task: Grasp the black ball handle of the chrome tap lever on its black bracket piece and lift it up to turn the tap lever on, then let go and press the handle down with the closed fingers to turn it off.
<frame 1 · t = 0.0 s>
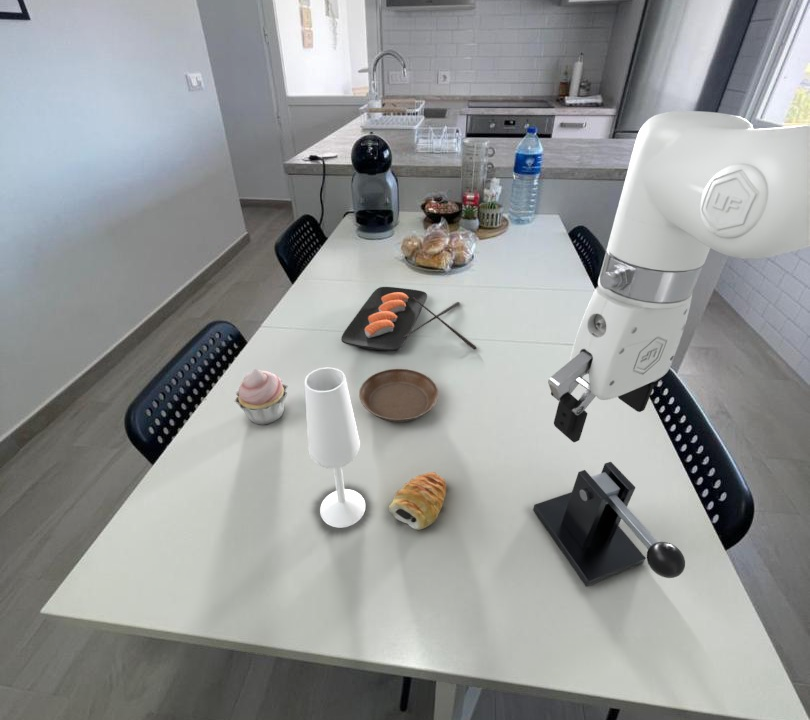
hand: (599, 418, 49), 22 cm above the table, tool pointing down, fingers open, 9 cm apart
tap lever: (633, 523, 52), point 10 cm above the table, hinge at 0.0°
cupcake: (266, 413, 83), on the table
saucer: (399, 403, 85), on the table
sushi plate: (418, 326, 108), on the table
black bracket piece: (584, 535, 62), on the table
pastry: (418, 506, 66), on the table
champagne flute: (343, 508, 66), on the table
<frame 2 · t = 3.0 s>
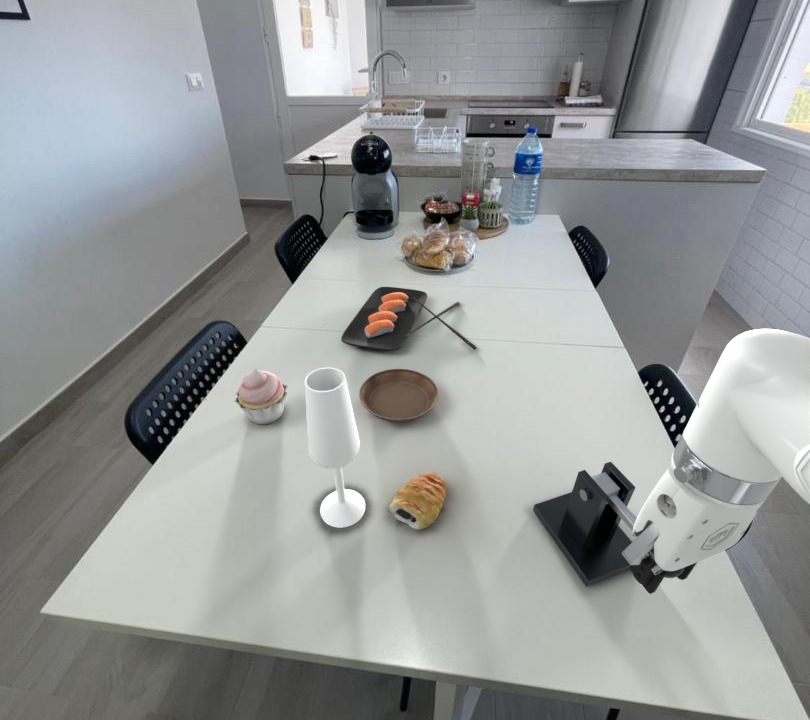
hand: (657, 573, 50), 7 cm above the table, tool pointing down, fingers closed on tap lever, 3 cm apart
tap lever: (633, 523, 52), point 10 cm above the table, hinge at 0.0°, touching gripper
everything else where it was.
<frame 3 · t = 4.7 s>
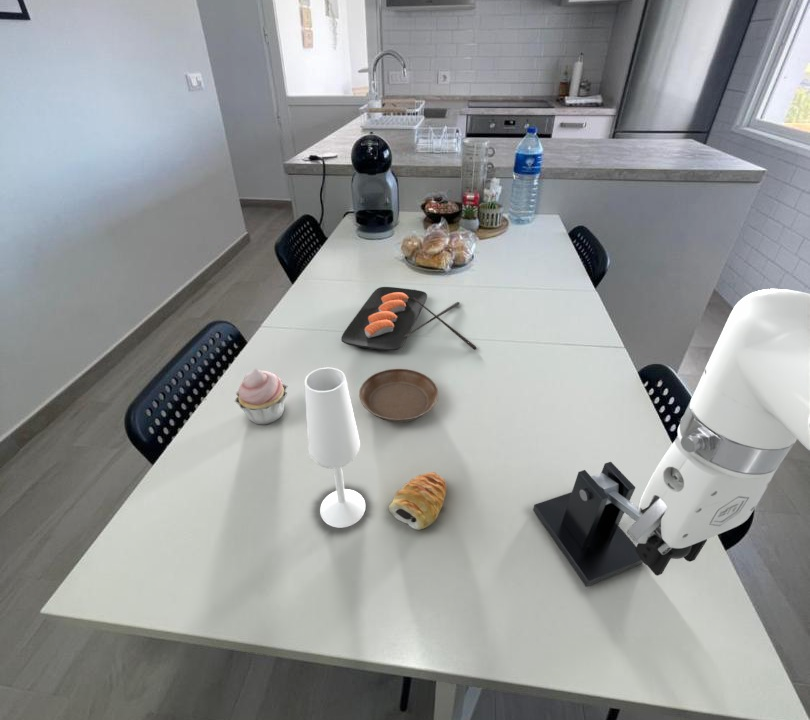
hand: (664, 555, 48), 10 cm above the table, tool pointing down, fingers closed on tap lever, 3 cm apart
tap lever: (635, 513, 51), point 12 cm above the table, hinge at 17.2°, touching gripper
everything else where it was.
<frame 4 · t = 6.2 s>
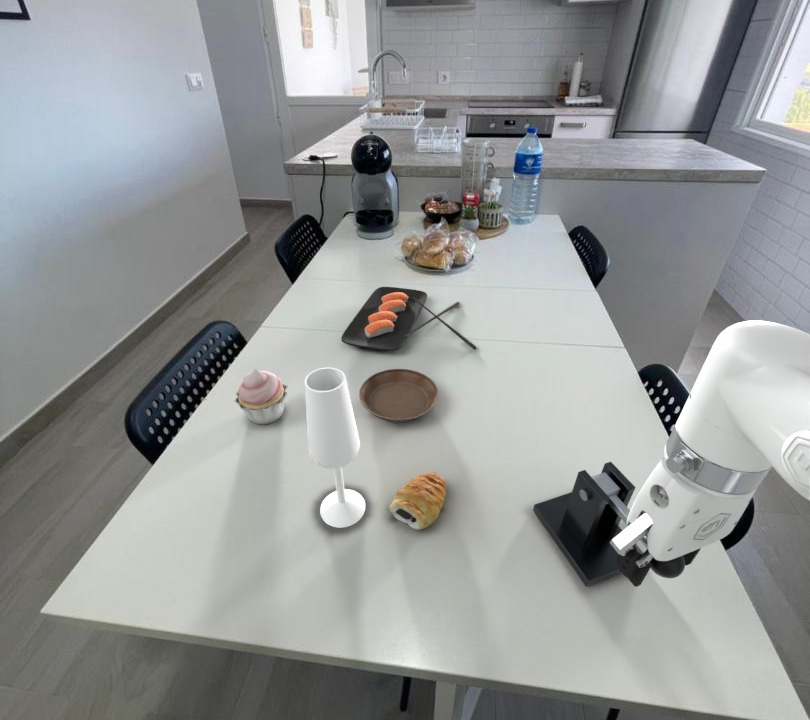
hand: (652, 562, 50), 8 cm above the table, tool pointing down, fingers open, 6 cm apart
tap lever: (633, 523, 52), point 10 cm above the table, hinge at -0.2°
everything else where it was.
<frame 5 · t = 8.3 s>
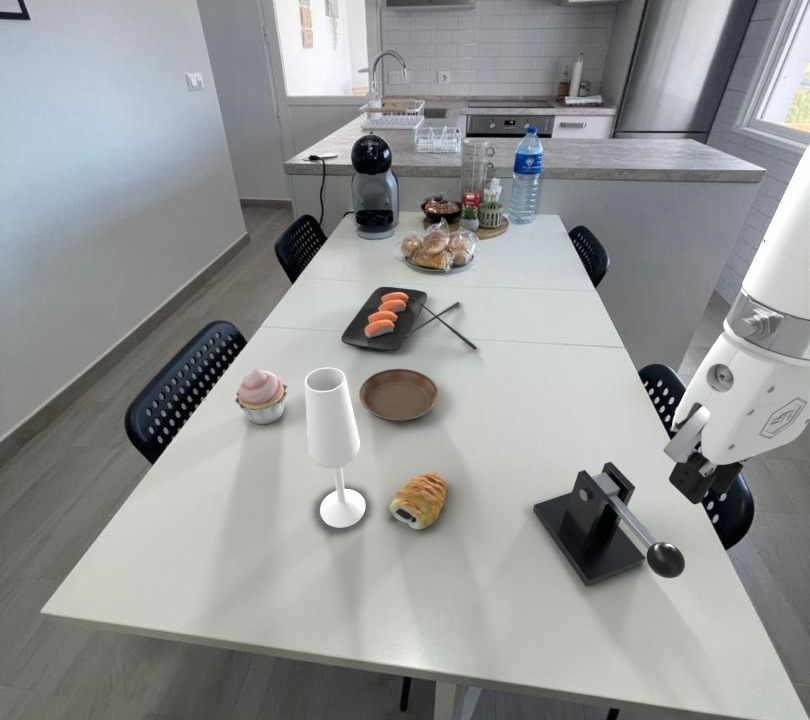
hand: (696, 486, 43), 21 cm above the table, tool pointing down, fingers closed
nothing on the table moved.
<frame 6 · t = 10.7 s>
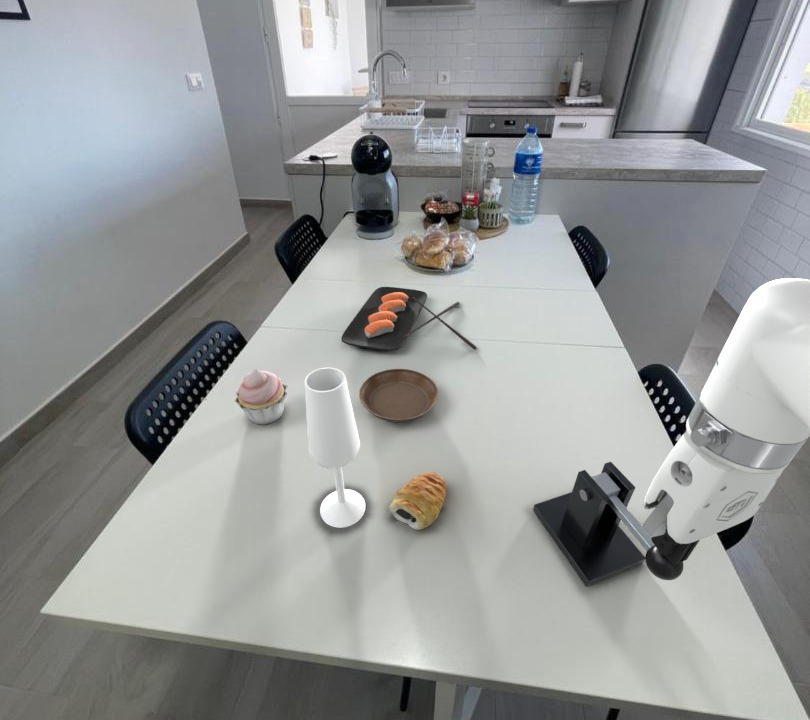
hand: (667, 550, 48), 11 cm above the table, tool pointing down, fingers closed
tap lever: (632, 524, 52), point 10 cm above the table, hinge at -2.8°
everything else where it was.
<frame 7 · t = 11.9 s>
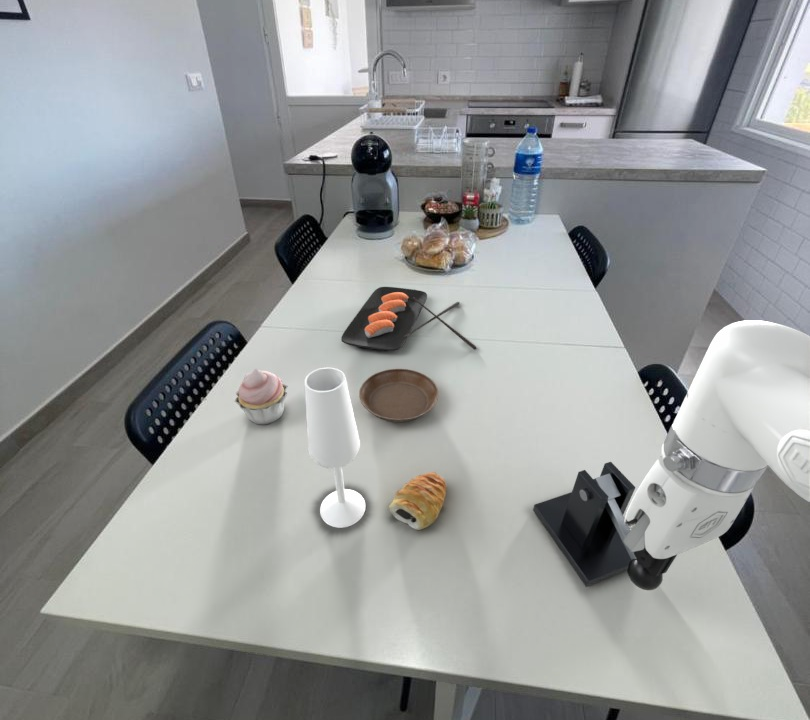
hand: (648, 563, 51), 7 cm above the table, tool pointing down, fingers closed
tap lever: (623, 530, 54), point 8 cm above the table, hinge at -27.4°, touching gripper
everything else where it was.
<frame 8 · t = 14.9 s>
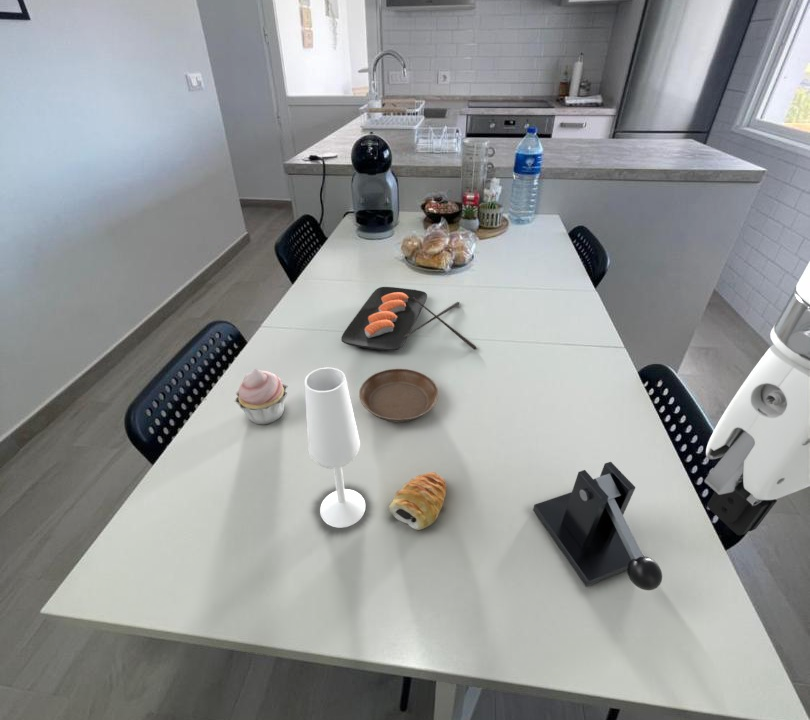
hand: (729, 518, 37), 23 cm above the table, tool pointing down, fingers closed
tap lever: (623, 530, 54), point 8 cm above the table, hinge at -27.7°
everything else where it was.
at the end: tap lever reached +20° during the clip, -28° at the end; tap lever at -28° (first picture: +0°) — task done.
